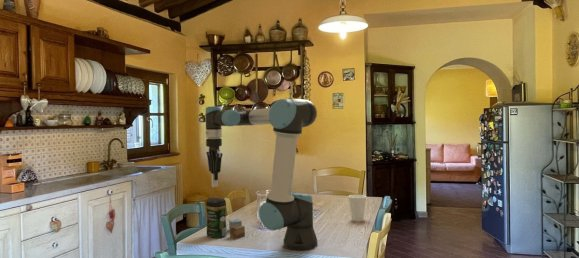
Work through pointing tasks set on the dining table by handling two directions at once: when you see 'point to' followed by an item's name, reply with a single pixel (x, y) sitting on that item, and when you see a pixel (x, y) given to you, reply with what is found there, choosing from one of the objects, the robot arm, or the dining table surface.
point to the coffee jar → (216, 217)
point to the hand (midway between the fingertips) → (214, 186)
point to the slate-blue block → (234, 223)
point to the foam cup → (357, 207)
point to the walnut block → (237, 231)
